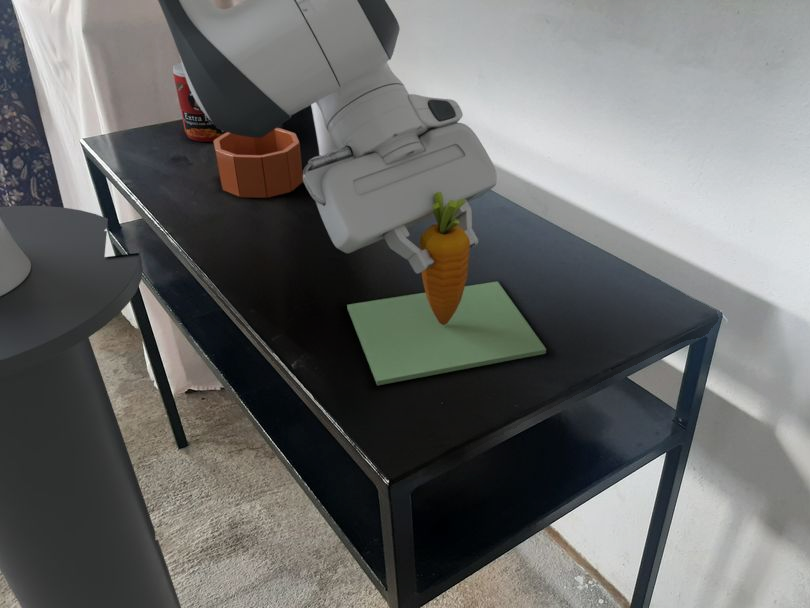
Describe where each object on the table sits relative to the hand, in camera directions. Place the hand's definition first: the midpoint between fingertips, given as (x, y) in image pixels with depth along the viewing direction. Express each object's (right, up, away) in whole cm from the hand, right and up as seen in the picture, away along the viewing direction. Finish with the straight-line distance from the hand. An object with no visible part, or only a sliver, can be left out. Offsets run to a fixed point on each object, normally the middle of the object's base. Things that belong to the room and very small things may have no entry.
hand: (449, 258), depth 73 cm
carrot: (-1, -7, +5) cm, 9 cm away
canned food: (-41, +27, +49) cm, 69 cm away
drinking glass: (-19, +20, +41) cm, 49 cm away
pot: (-28, +16, +35) cm, 48 cm away
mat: (-1, -7, +6) cm, 9 cm away
